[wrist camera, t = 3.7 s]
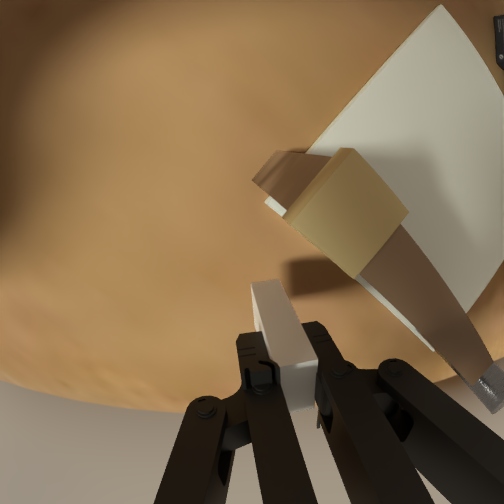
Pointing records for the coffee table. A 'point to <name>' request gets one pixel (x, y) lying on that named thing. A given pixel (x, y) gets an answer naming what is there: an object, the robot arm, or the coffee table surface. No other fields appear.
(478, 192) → the board
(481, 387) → the hinge post
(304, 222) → the brown wooden plank
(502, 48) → the small box
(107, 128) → the coffee table surface
